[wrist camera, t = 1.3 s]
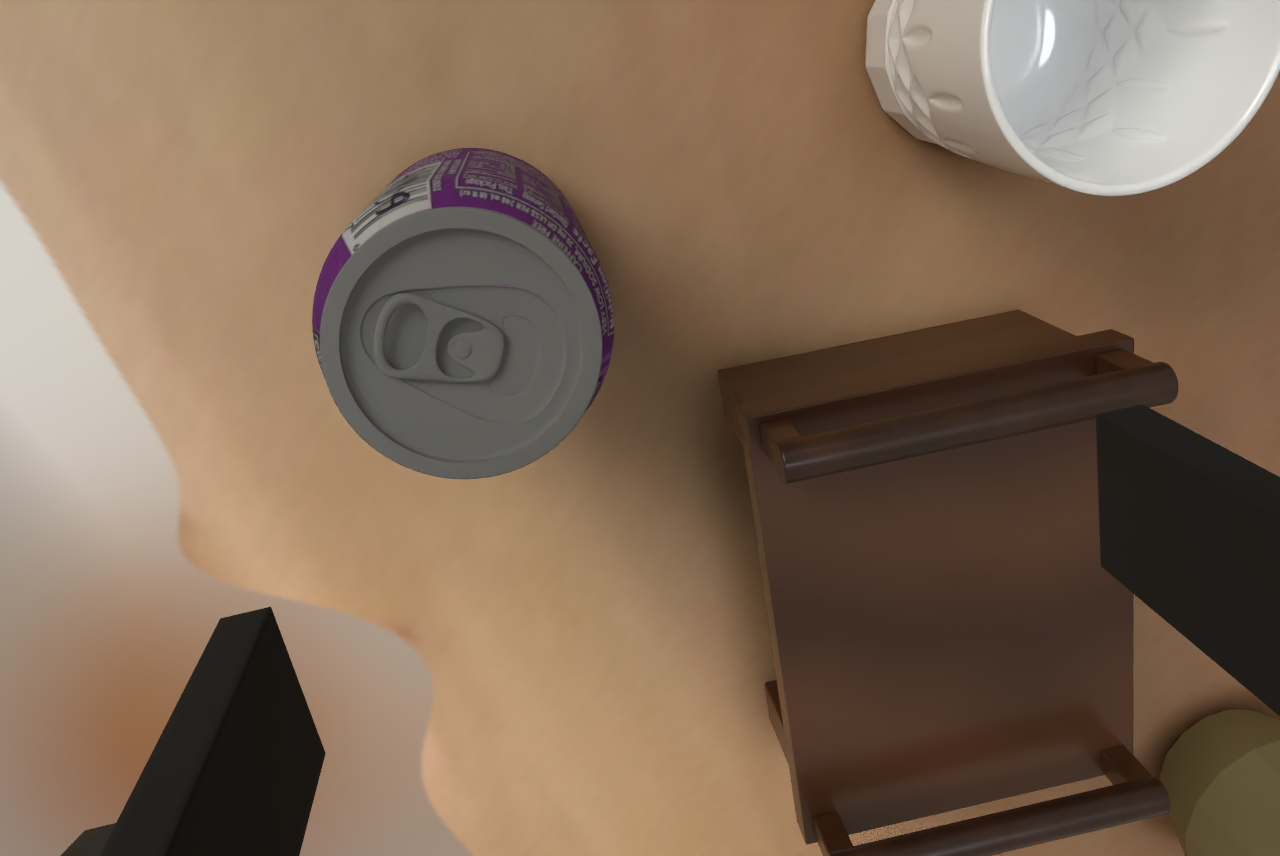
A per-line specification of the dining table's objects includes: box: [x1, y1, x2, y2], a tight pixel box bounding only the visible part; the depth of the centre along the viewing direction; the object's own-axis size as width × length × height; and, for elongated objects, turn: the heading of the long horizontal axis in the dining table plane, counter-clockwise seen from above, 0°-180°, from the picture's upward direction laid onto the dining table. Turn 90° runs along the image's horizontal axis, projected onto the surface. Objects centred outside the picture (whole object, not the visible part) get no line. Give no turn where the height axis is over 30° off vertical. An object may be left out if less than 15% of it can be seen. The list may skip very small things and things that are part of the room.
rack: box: [718, 310, 1178, 856], centre depth 35 cm, size 16×12×9 cm
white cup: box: [865, 0, 1280, 196], centre depth 29 cm, size 8×8×10 cm
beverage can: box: [312, 148, 614, 479], centre depth 28 cm, size 7×7×12 cm
